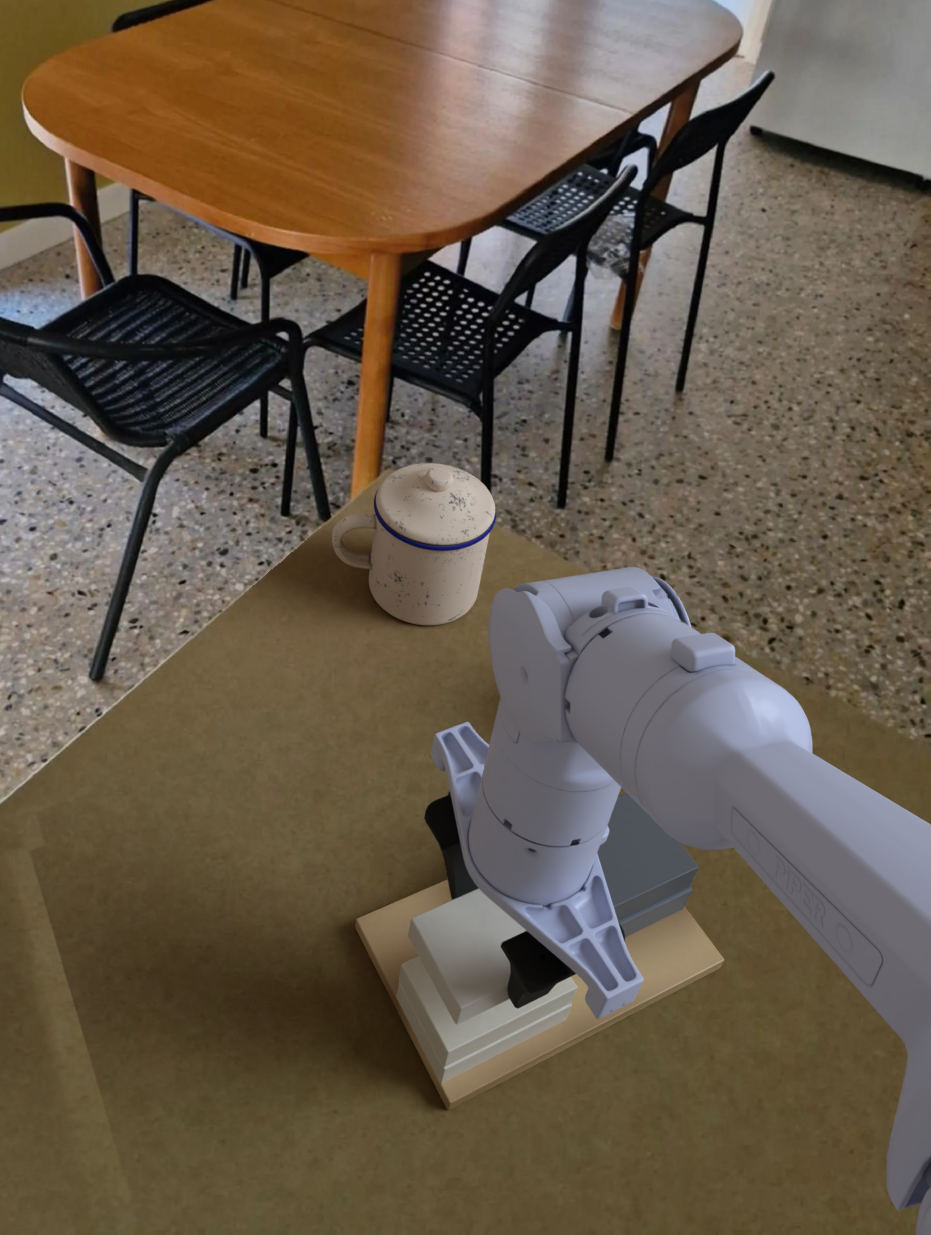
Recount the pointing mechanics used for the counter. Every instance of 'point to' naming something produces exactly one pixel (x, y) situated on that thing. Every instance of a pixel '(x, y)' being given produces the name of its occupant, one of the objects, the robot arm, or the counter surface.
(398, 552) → the teacup with lid
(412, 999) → the white books
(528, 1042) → the shelf board
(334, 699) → the counter surface
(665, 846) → the grey books
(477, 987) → the white book
